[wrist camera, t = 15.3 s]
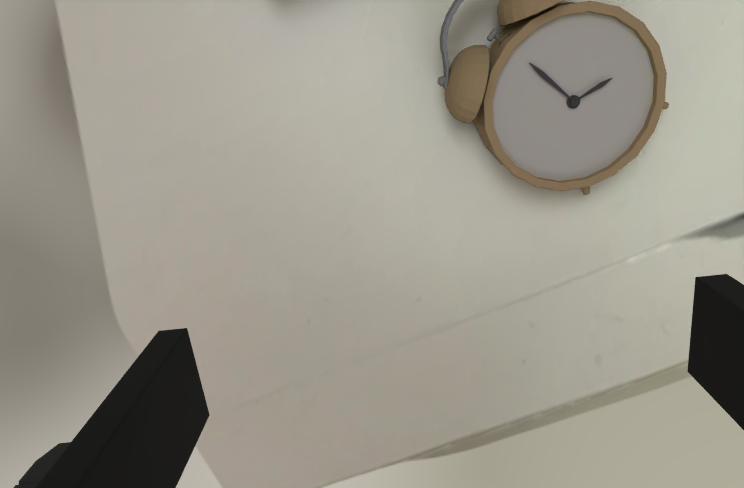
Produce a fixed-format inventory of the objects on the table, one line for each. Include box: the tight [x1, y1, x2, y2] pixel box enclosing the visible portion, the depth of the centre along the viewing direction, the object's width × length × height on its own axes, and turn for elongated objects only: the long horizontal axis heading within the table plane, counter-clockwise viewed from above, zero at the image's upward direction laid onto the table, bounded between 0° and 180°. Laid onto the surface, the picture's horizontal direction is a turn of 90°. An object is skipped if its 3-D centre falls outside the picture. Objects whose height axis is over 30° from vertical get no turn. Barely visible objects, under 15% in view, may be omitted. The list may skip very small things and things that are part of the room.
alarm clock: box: [438, 0, 669, 195], centre depth 34 cm, size 11×5×15 cm
